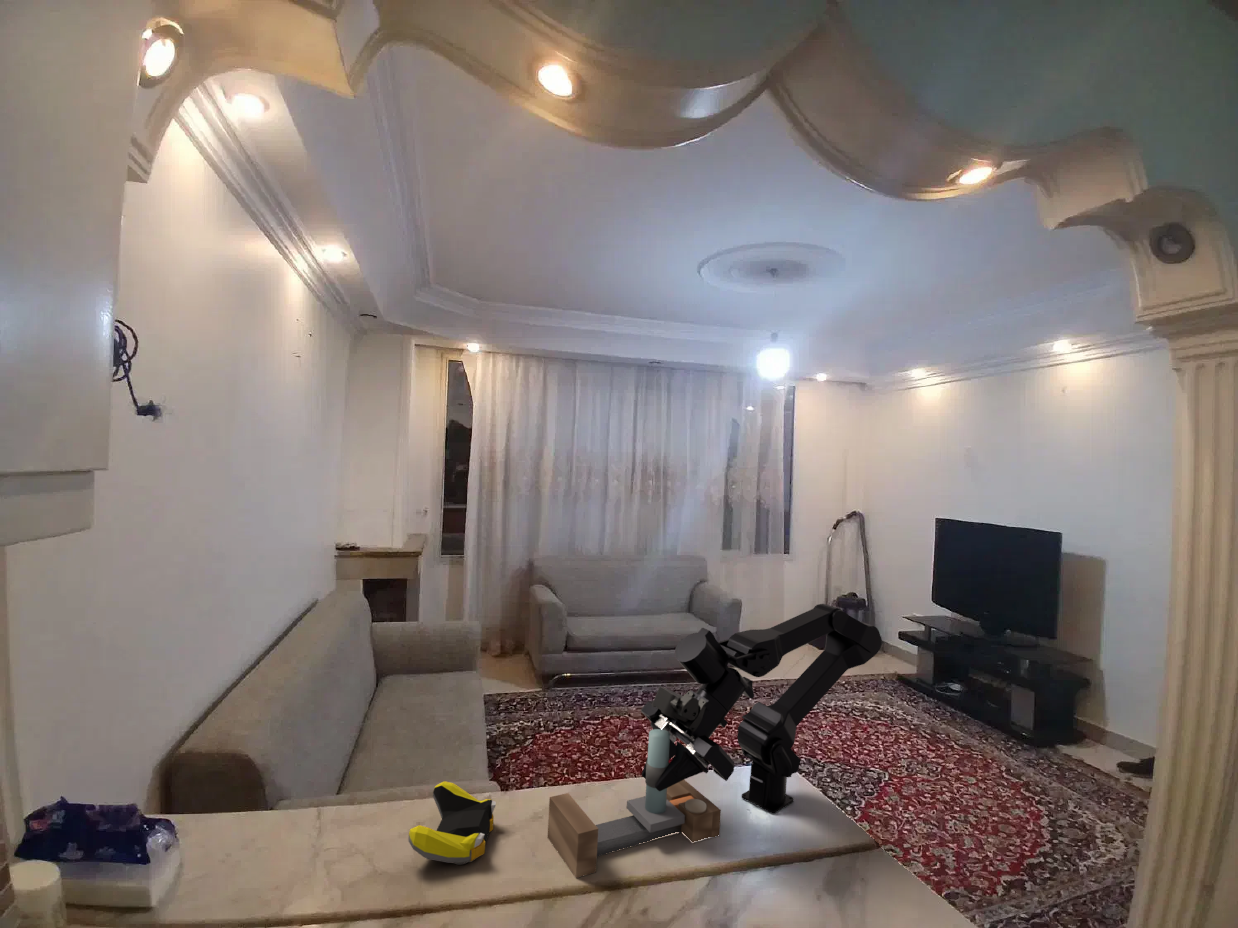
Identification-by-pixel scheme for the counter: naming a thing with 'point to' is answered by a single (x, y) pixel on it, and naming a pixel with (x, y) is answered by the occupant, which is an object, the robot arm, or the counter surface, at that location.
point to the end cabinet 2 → (696, 812)
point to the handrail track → (626, 834)
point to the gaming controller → (455, 827)
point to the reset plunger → (680, 801)
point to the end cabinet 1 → (573, 834)
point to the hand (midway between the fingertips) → (650, 783)
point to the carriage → (655, 805)
